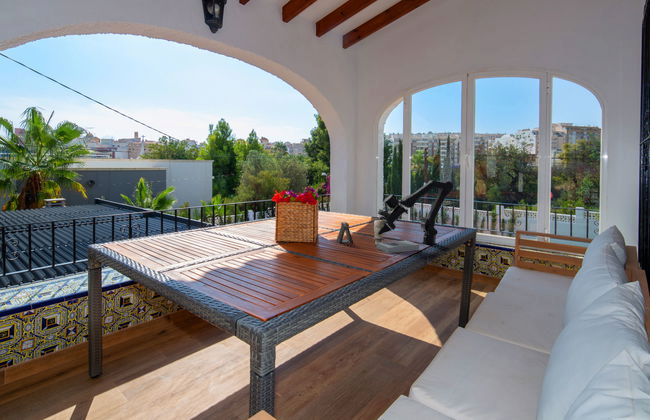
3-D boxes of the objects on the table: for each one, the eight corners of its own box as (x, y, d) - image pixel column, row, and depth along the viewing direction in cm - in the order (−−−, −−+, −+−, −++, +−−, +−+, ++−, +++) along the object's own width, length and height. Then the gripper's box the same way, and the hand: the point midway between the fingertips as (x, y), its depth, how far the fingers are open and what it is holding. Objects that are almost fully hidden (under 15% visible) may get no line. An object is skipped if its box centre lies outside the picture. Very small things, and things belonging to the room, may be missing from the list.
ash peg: (380, 242, 212) (381, 219, 211) (385, 245, 207) (386, 221, 205) (371, 243, 210) (372, 220, 208) (376, 245, 204) (377, 222, 203)
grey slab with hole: (406, 245, 206) (406, 240, 206) (419, 250, 195) (419, 244, 195) (376, 248, 199) (376, 242, 198) (388, 253, 188) (388, 247, 187)
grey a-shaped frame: (350, 240, 218) (350, 221, 217) (353, 242, 212) (353, 222, 211) (336, 241, 216) (336, 221, 214) (338, 243, 210) (339, 223, 209)
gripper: (382, 202, 215) (364, 220, 215) (390, 206, 196) (370, 225, 197) (394, 215, 217) (376, 233, 217) (404, 220, 198) (384, 239, 199)
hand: (376, 232), depth 207 cm, fingers open, 9 cm apart
